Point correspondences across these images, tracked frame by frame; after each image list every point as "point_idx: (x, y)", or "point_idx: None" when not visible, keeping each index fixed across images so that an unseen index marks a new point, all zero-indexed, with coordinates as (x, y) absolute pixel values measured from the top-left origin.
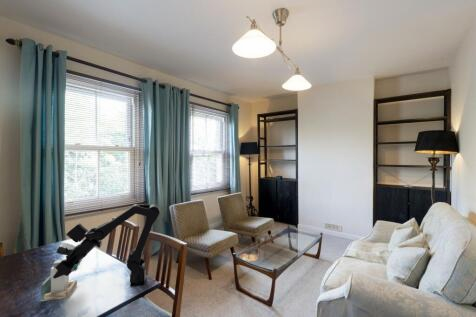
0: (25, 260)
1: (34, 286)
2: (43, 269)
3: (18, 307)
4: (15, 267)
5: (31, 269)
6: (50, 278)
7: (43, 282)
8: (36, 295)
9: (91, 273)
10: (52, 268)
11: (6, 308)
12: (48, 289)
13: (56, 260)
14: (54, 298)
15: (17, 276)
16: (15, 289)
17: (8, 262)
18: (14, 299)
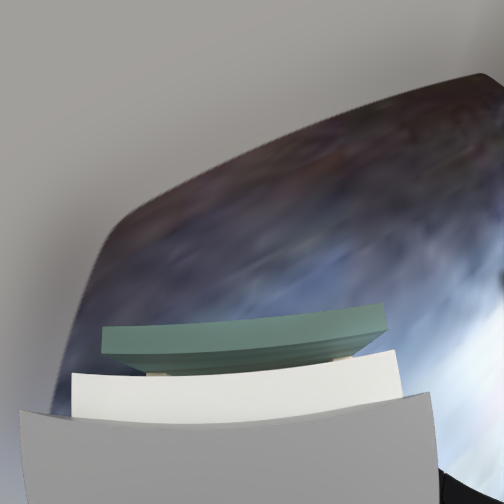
0: (499, 109)
1: (360, 217)
2: (494, 178)
3: (133, 260)
4: (463, 98)
5: (476, 139)
6: (267, 349)
7: (147, 326)
8: (248, 289)
9: (492, 490)
10: (75, 409)
11: (145, 208)
12: (224, 370)
13: (344, 422)
14: None
15: (424, 117)
16: (328, 150)
17: (471, 81)
18: (227, 194)
